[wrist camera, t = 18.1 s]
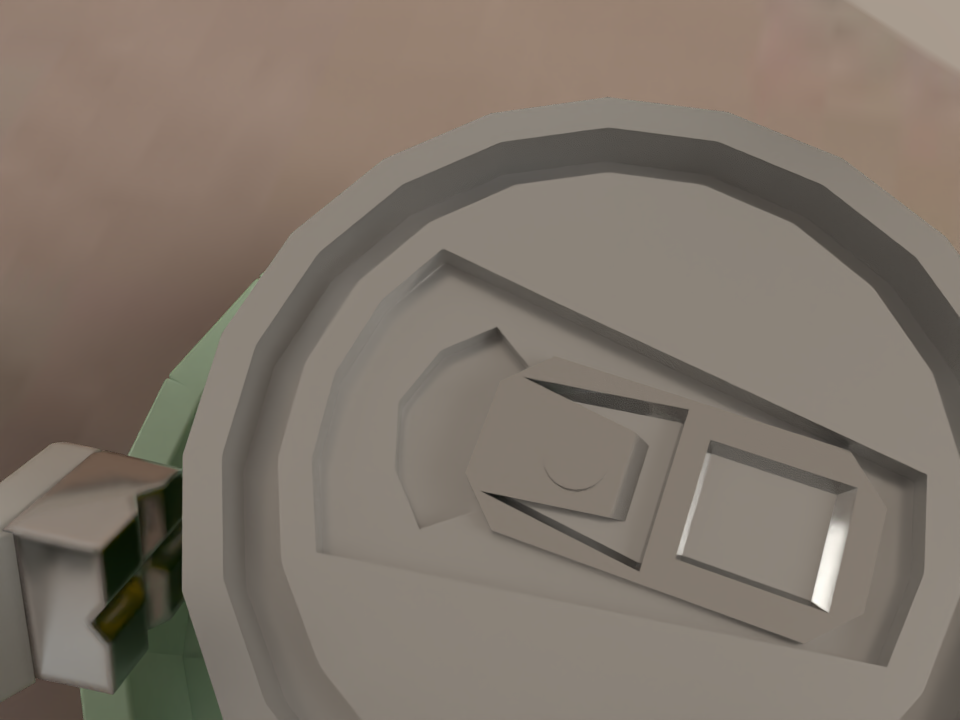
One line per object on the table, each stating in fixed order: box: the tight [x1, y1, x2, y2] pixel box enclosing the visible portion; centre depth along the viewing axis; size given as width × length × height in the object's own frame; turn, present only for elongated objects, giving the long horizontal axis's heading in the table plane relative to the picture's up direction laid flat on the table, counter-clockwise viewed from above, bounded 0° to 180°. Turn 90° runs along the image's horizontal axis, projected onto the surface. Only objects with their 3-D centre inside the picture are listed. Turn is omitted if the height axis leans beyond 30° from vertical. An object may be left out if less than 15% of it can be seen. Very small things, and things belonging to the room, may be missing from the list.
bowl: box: [80, 272, 264, 720], centre depth 14 cm, size 13×13×5 cm
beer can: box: [182, 97, 960, 720], centre depth 11 cm, size 5×5×12 cm
